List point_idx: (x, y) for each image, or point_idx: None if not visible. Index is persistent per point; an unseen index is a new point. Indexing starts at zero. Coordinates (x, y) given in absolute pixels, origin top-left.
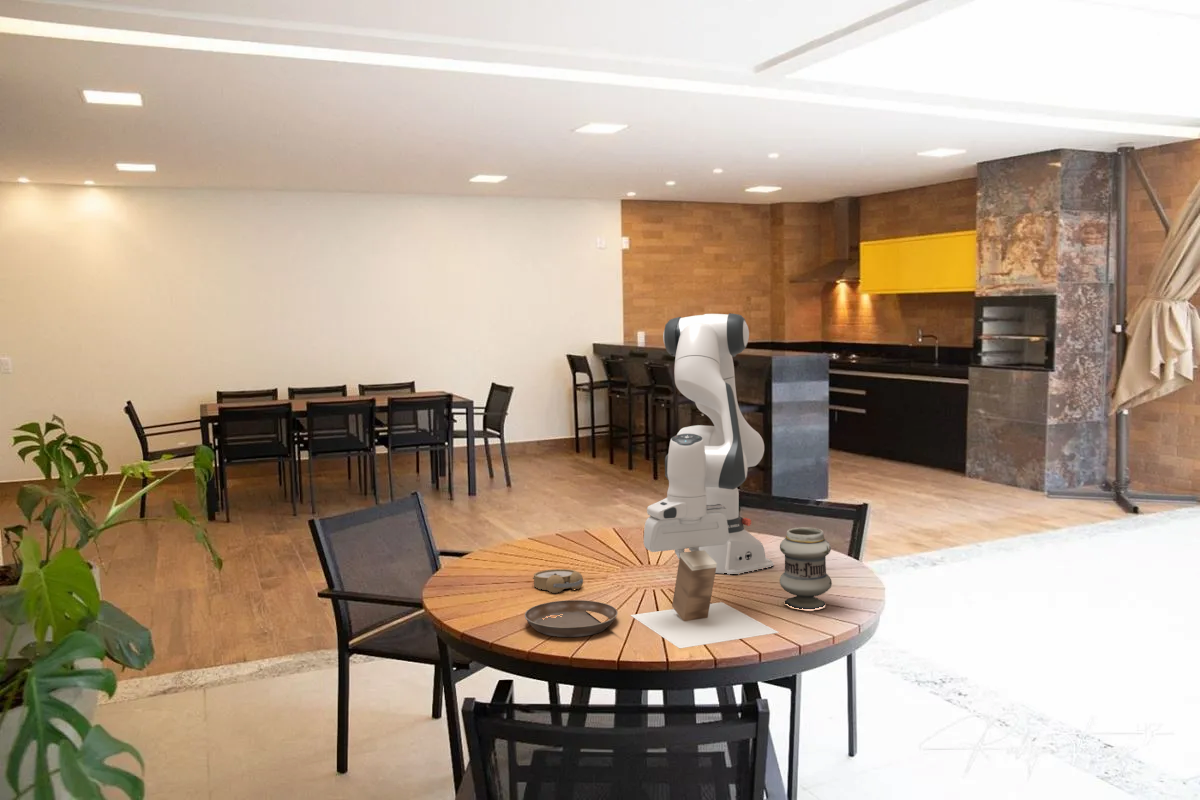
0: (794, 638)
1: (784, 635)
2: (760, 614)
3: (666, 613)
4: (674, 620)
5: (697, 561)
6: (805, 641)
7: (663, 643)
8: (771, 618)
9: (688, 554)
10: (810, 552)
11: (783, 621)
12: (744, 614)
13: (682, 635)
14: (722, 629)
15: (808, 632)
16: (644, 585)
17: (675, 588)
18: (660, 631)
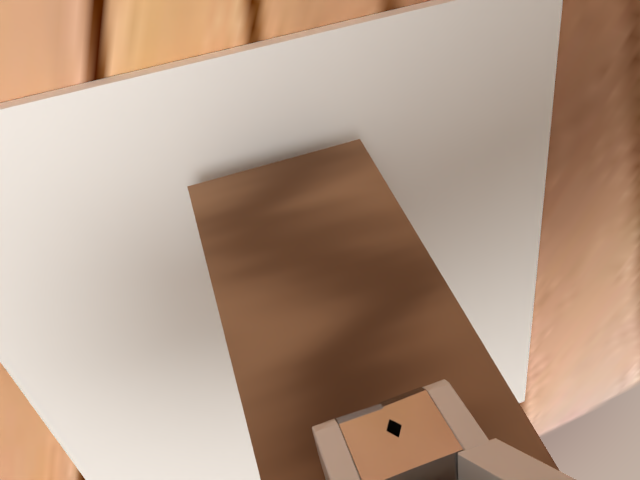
0: (543, 405)
1: (534, 384)
2: (615, 166)
3: (147, 146)
4: (175, 273)
5: None
6: (552, 423)
7: (79, 475)
8: (615, 222)
9: None
10: None
11: (626, 259)
12: (539, 215)
13: (173, 447)
14: None
15: (612, 360)
16: None
17: (219, 313)
18: (72, 413)
